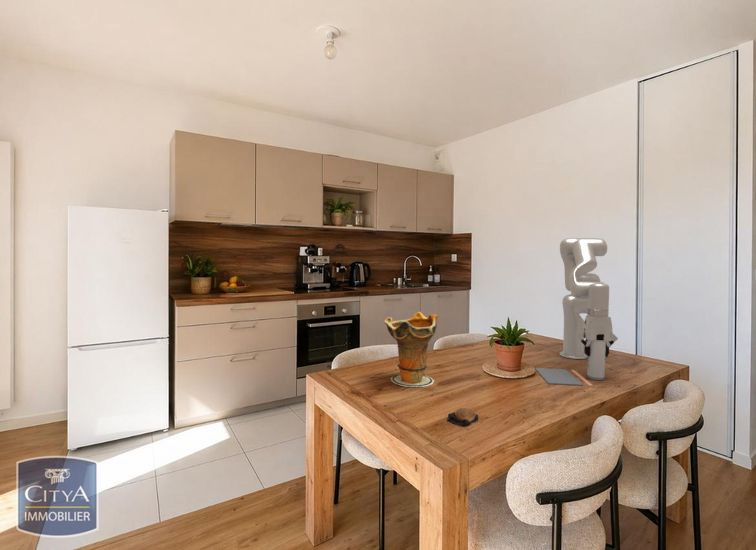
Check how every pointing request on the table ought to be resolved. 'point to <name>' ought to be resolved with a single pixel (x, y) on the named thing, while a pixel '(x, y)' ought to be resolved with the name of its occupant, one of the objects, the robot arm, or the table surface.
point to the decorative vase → (412, 348)
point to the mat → (558, 377)
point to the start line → (582, 378)
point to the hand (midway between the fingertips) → (596, 355)
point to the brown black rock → (463, 417)
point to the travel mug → (597, 358)
